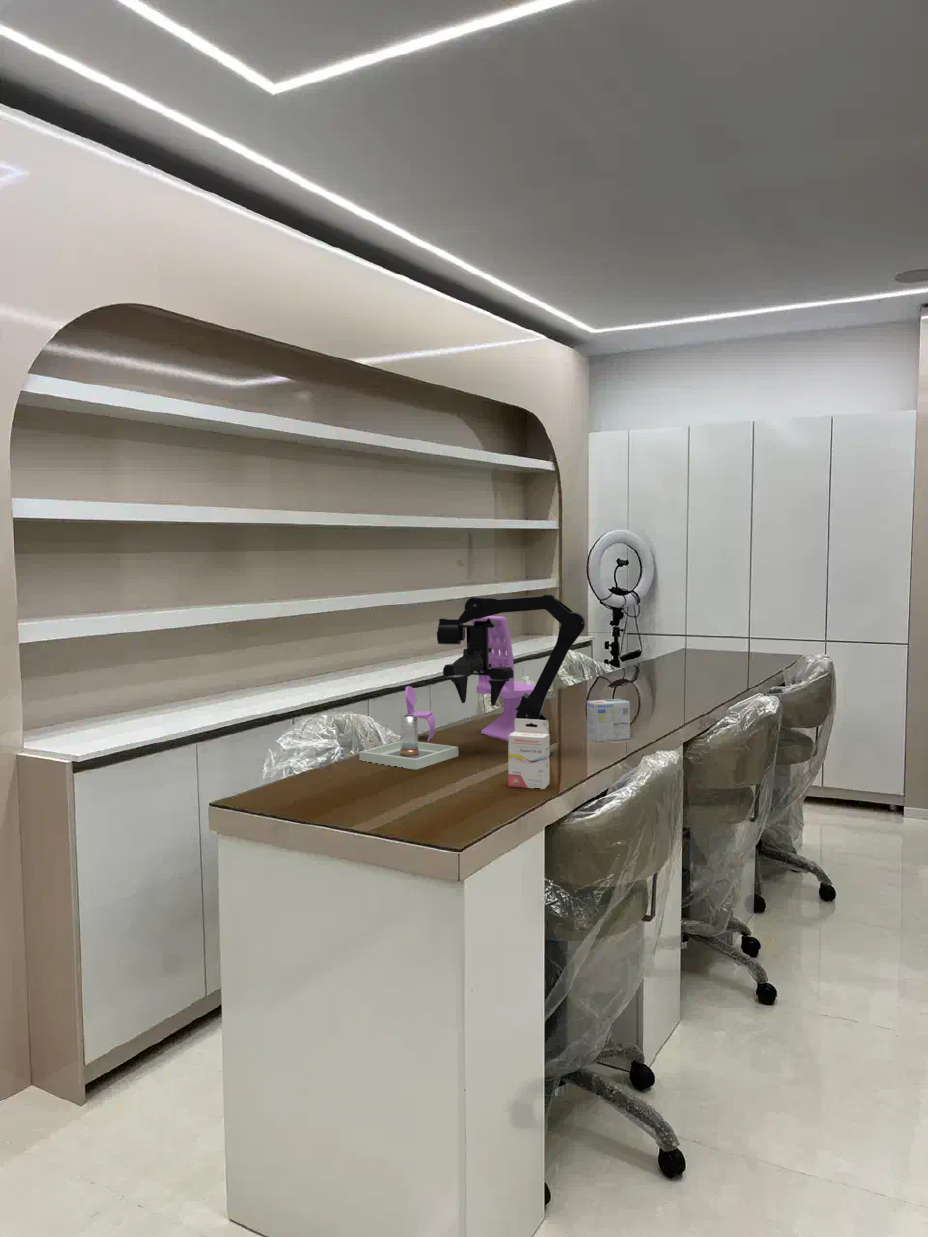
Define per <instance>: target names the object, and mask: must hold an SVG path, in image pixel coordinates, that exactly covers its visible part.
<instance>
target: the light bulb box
mask: <svg viewBox="0 0 928 1237" xmlns="http://www.w3.org/2000/svg"><path fill="white" fill-rule="evenodd" d="M630 703H631V702H630V701H629V700H626V699H621V698H611V699H598V700H586V732H587V735H586V736H587V737H586V738H587V739H589V740H591V741H594V742H596V743H599V742H609V741H620V740H621V741H622V740H630V739H631V728H630V727H631V710H630V709H631V706H630V705H631V704H630Z"/></svg>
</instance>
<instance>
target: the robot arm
mask: <svg viewBox="0 0 928 1237" xmlns="http://www.w3.org/2000/svg"><path fill="white" fill-rule="evenodd" d="M539 610H545V611H547V612H548V613H549V615H551V616H552V617H553V618H554V619H555V620H556V621H557V622H558V623H559V624H561V625H560V627H559V631H558V636H557V639H556V643H555V645H554V647H553V649H552V651H551V653H550V655H549V657H548V659H547V661H546V663H545V665H544V667H543V670H542V671H541V673H540V675H539V678H538V679H537V681H536V683H535V684H534V685H535V687H534V689H533V691H532V692H531V694H530V695H528V694H527V693H525V694H524V695H523V696H522V698H521V702H520V705H519V706H518V707H517V708H516V710H518V711H517V714H516V718H518V719H536V720H547V721H548V722H549V723H550V720H549V719H547V718H546V716H545V715H544V714H543V709H544V706H545V702H546V698H547V695H548V694H549V691H550V689H551V687H552V685H553V683H554V681H555V678H556V677H557V675H558V673H559V671H560V668H561V667H562V664H563V662H564V661H565V659H566V657H567V654H568V652H569V650H570V649H571V647H572V646H573V645H574V643H575V642H576V641H577V639H578V638H579V637H580V635H581V634H582V632H584V631H585V630H584V629H585V628H586V626H587V621H586V617H585V615H583V613H581V612H579V611H573V610H572V609H571V608H569V607H568V606H567V605H566V604H564V603H563V602H562V601H561V600H559V599H558V598H557V596H555V595H554V594H552V593H546V594H540V595H529V596H528V595H527V596H517V597H514V596H513V597H506V598H505V597H504V598H502V597H501V598H499V597H492V596H484V595H483V596H482V595H478V596H477V595H476V596H473V597H470V598H468V600H467V601H466V602H465V604H464V611H463V612H462V613H461V615H459V617H458V618H446V617H445V618H443V617H441V618H439V619H438V626H437V631H436V640H437V644H438V645H461V644H462V642H463V641H464V642H465V640H466V648H463V652H462V656H461V657H459V658H458V659H456V660H455V661H454V662H452V663H450V664H445V665H444V666H443V668H442V676H445V677H446V679H447V680H449V681H451V682H452V683H453V684H454V686H455V688H456V690H457V693H458V694H457V695H458V696H459V699H460V702H461V703H462V704H465V703H466V699H467V692H468V678H469V677H470V676H472V675H474V676H479V675H485V676H489V677H490V678H491V679H493V680H489V683H490V685H491V694H490V705H491V707H495V705H496V704H497V701H498V699H499V698H500V697H499V694H500V692H501V690H502V688H503V686H504V684H505V683H506V681H509V679H510V678H514V679H515V670H514V671H513V670H512V668H511V667H508V666H507V667H502V666H501V665H500V666H499V667H494V668H491V664H489V652H491V648H489V645H488V644H489V629H488V628H493V627H496V624H495V623H494V622H493V621H492V620H491V618H488V619H487V620H486V621H475V622H474V625H472V624H466V623H469V622H472V620H473V619H480V618H484V617H487V616H494V615H495V616H496V615H498V614H501V613H502V614H503V613H513V612H514V613H515V612H516V613H517V612H526V611H539ZM489 668H491V669H489ZM547 693H548V694H547ZM525 726H526V727H537V725H536V724H533V723H530V724H526V725H525ZM549 734H550V735H551V731H549ZM549 743H550V744H549V749H550V750H549V753H550V754H549V757H550V756H552V755H554V752H552V751H551V739H550V740H549Z"/></svg>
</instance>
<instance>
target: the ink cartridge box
mask: <svg viewBox="0 0 928 1237" xmlns="http://www.w3.org/2000/svg"><path fill="white" fill-rule="evenodd" d="M547 720H548V719H547ZM547 720H536V719H518V718H516V719H515V720H514V726H515V732H513V733H511V734H510V735H509V742H508V745H507V746H508V748H507V749H508V753H507V754H508V756H507V757H508V765H507V766H508V768H507V770H508V773H507V776H508V778H507V779H508V783H507V784H508V787H513V788H525V789H534V788H540V789H539V790H545V789H546V788H547V787H548V786H549V785H550V756H549V754H550V753H549V750H550V751H551V748H550V749H549V744H550V745H551V742H550V743H549V740H550V741H551V733H550V734H549V732H550V730H549V728H550V727H549V725H550V721H549V720H548V721H549V722H548V721H547ZM530 723H533V724H536V725H537V727H526V726H525V725H526V724H530Z"/></svg>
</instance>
